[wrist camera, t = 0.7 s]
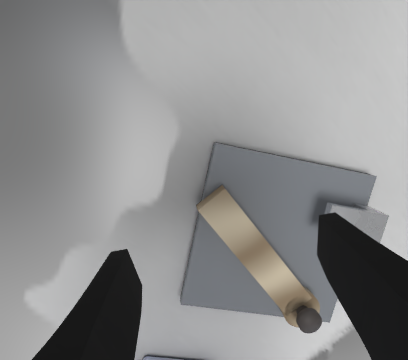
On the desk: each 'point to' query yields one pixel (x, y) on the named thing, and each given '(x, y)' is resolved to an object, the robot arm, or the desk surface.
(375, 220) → the keeper
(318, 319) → the tan latch lever
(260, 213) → the base plate
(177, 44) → the desk surface
